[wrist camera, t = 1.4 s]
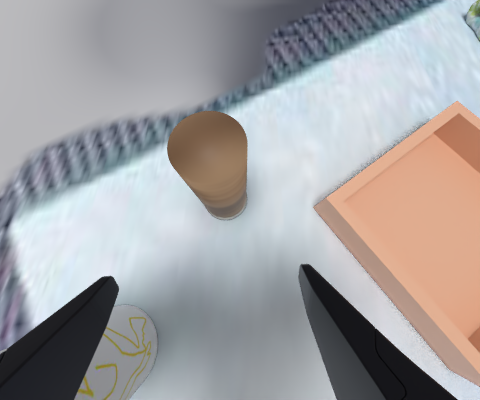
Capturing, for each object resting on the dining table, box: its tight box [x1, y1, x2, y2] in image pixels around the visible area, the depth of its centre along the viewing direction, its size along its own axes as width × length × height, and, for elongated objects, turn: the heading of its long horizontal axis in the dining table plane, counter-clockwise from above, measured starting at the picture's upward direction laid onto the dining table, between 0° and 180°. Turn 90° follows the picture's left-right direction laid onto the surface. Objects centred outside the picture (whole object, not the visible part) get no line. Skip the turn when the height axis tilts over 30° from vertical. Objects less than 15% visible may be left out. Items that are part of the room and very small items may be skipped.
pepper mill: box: [167, 111, 247, 220], centre depth 18 cm, size 5×5×12 cm
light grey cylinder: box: [0, 305, 158, 400], centre depth 14 cm, size 8×8×12 cm
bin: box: [313, 101, 480, 387], centre depth 21 cm, size 20×20×4 cm
